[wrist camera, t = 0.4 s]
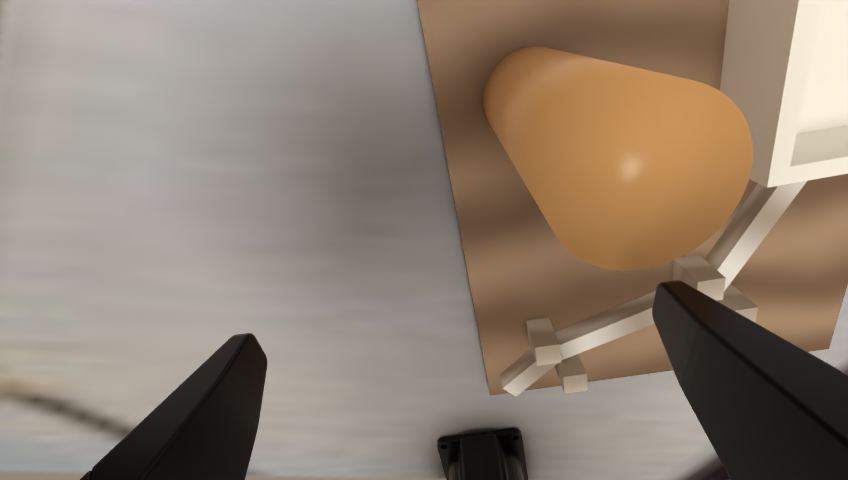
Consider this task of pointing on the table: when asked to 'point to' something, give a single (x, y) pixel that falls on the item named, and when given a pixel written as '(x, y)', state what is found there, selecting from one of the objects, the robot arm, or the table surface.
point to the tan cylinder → (619, 154)
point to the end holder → (790, 85)
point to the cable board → (572, 277)
